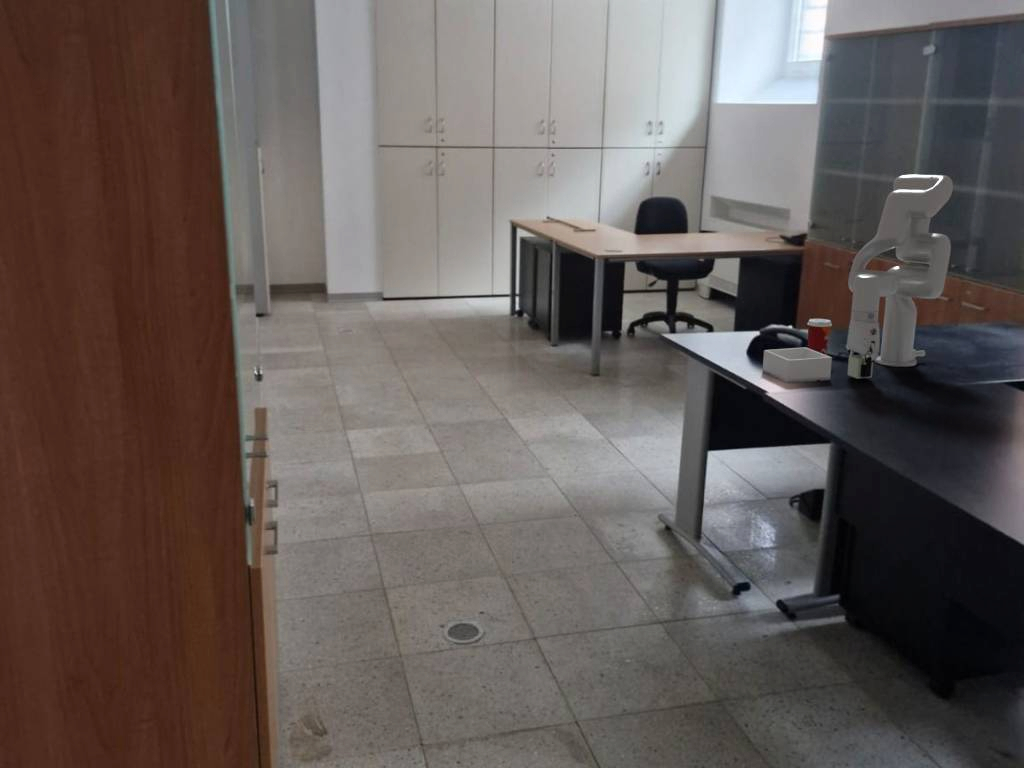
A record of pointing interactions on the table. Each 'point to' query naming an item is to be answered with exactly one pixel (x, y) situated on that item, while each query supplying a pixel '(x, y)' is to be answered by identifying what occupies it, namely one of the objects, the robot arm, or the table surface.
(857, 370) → the green block
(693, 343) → the table surface
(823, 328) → the paper cup
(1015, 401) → the table surface
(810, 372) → the bin
